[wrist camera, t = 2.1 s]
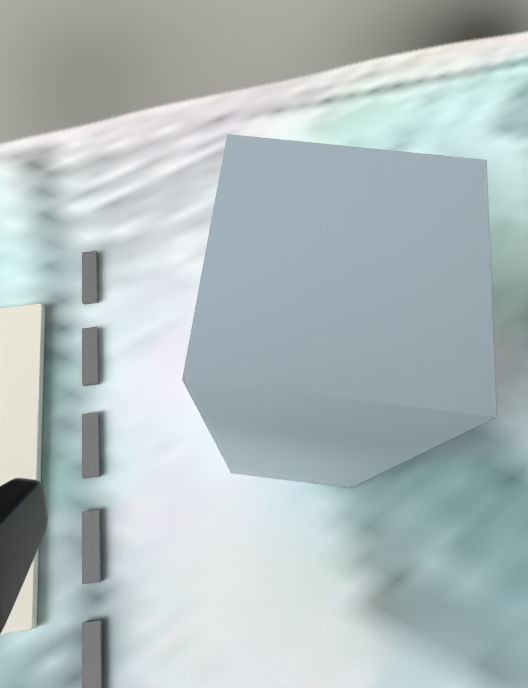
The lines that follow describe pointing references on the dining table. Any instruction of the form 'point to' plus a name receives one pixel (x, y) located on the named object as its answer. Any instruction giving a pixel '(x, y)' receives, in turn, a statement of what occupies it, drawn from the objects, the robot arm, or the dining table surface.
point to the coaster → (22, 425)
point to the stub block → (342, 309)
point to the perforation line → (90, 468)
